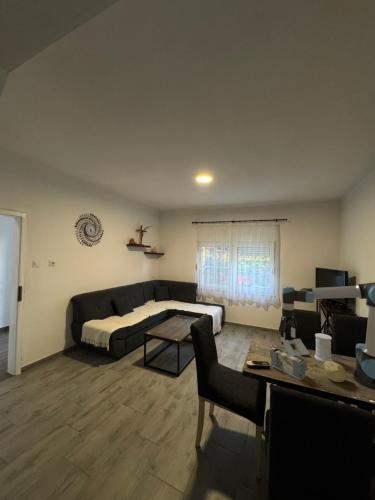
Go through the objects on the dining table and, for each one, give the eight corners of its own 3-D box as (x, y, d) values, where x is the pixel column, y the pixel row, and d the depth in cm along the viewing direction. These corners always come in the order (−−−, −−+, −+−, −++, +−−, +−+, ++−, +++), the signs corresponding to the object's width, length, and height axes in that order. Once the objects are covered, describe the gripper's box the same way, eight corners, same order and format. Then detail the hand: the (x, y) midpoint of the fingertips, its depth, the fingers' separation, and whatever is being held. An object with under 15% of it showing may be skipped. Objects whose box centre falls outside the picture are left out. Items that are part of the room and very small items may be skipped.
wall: (307, 358, 172) (299, 340, 183) (310, 354, 166) (301, 336, 178) (287, 361, 172) (280, 343, 184) (289, 356, 167) (282, 338, 178)
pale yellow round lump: (320, 374, 142) (320, 358, 143) (337, 374, 142) (337, 358, 143) (331, 384, 131) (331, 367, 131) (350, 384, 131) (350, 367, 131)
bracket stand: (307, 375, 140) (307, 359, 140) (300, 380, 135) (300, 363, 135) (276, 361, 158) (276, 347, 158) (269, 365, 153) (269, 350, 153)
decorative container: (312, 354, 170) (312, 332, 171) (328, 356, 167) (328, 334, 167) (317, 361, 159) (317, 337, 159) (334, 364, 156) (334, 339, 156)
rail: (302, 366, 141) (302, 360, 141) (298, 368, 138) (298, 362, 138) (278, 356, 154) (278, 350, 155) (274, 358, 152) (275, 352, 152)
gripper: (292, 305, 157) (292, 333, 157) (273, 310, 143) (272, 341, 143) (302, 307, 151) (302, 337, 151) (283, 312, 137) (283, 345, 136)
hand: (288, 339), depth 147 cm, fingers open, 13 cm apart
